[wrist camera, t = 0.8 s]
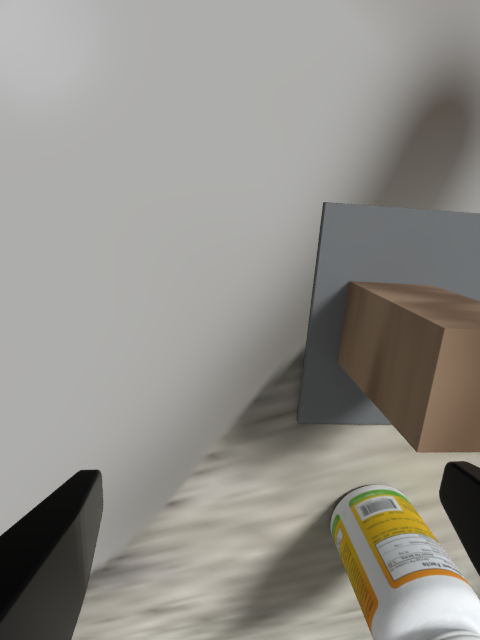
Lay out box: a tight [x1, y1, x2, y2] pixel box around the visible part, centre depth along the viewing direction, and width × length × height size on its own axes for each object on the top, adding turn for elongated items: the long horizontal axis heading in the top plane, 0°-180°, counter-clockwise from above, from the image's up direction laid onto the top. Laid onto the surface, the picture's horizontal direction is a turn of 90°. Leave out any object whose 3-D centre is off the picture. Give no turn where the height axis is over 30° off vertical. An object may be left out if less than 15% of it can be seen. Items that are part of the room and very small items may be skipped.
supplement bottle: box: [330, 485, 480, 640], centre depth 20 cm, size 5×5×10 cm
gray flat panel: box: [297, 202, 480, 424], centre depth 21 cm, size 14×12×1 cm
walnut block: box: [338, 281, 480, 452], centre depth 17 cm, size 4×4×8 cm
